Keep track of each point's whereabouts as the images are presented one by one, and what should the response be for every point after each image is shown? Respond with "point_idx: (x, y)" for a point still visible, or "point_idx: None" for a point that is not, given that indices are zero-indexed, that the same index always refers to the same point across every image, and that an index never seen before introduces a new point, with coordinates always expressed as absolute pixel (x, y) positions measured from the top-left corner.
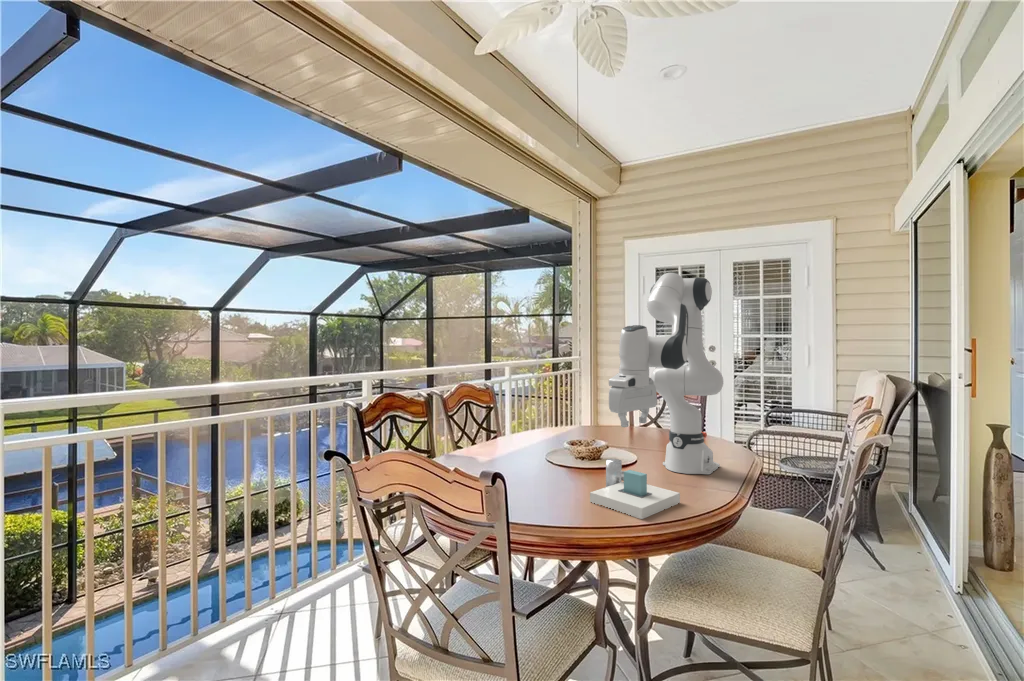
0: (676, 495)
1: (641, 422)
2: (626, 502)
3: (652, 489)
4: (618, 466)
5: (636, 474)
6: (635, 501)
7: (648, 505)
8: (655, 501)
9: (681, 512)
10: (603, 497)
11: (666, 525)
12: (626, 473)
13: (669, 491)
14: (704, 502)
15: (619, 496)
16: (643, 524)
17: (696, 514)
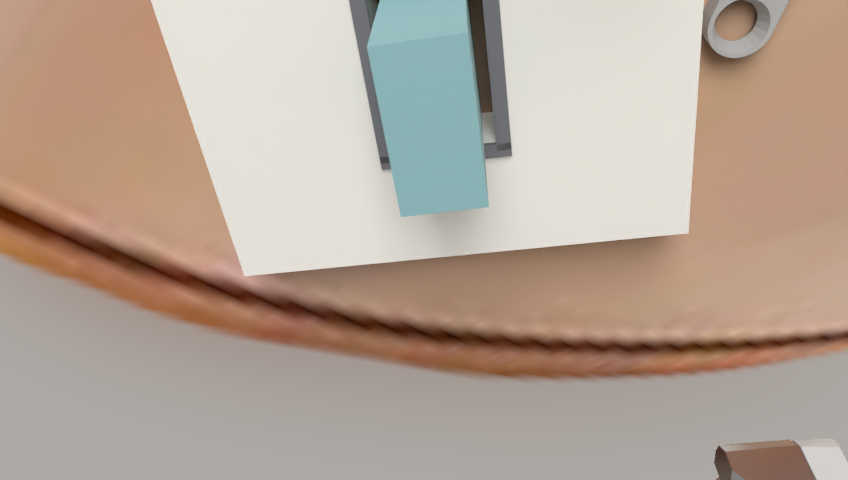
0: (639, 234)
1: (727, 478)
2: (227, 170)
3: (610, 85)
4: None
5: (397, 172)
6: (295, 187)
7: (314, 268)
8: (407, 249)
9: (530, 284)
10: None
11: (315, 338)
12: (374, 71)
13: (664, 180)
14: (794, 263)
15: (264, 61)
16: (221, 282)
17: (567, 334)
